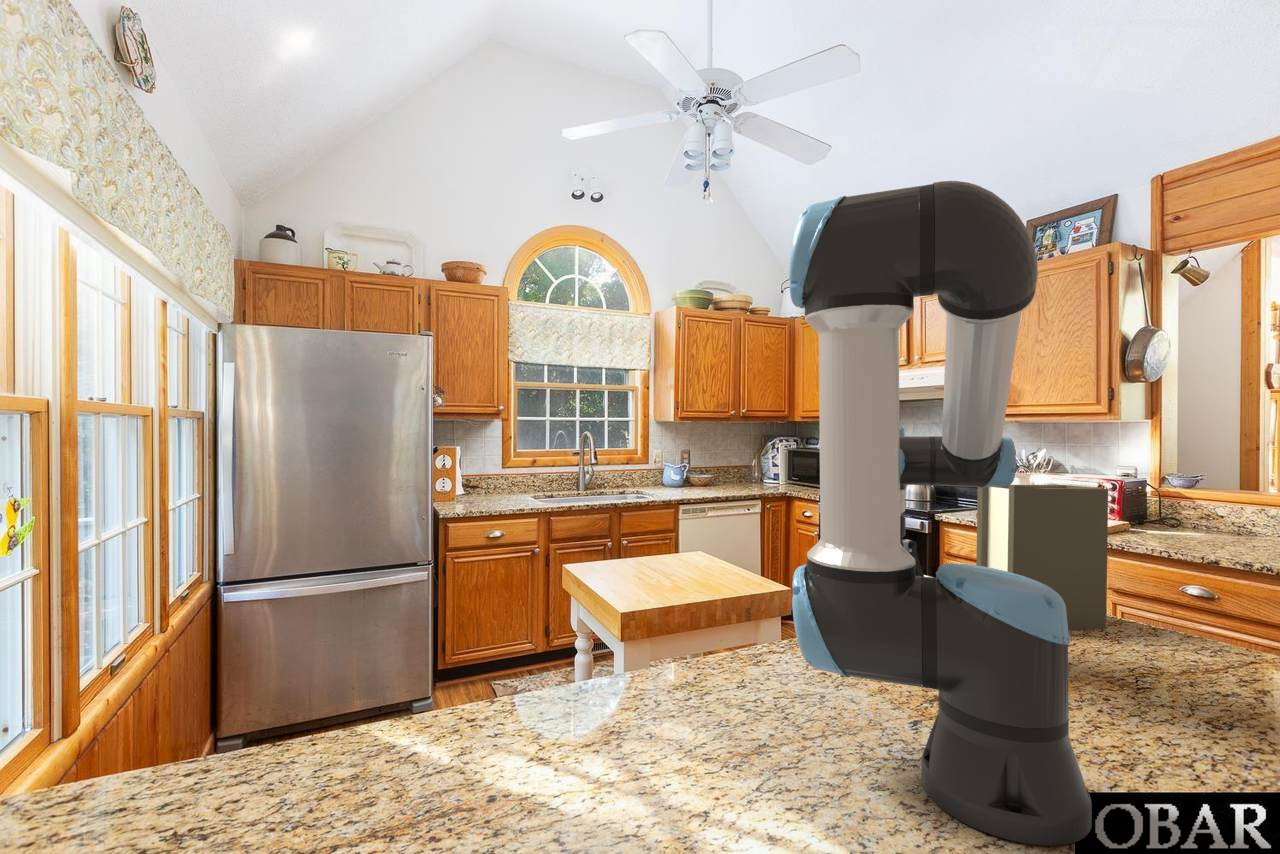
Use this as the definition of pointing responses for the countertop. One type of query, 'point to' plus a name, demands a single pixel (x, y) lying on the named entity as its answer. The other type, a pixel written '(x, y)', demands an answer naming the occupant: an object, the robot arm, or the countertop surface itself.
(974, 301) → the robot arm
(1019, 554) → the book
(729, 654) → the countertop surface
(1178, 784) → the countertop surface
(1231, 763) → the countertop surface
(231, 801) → the countertop surface
